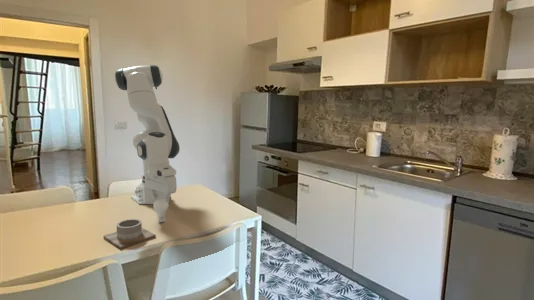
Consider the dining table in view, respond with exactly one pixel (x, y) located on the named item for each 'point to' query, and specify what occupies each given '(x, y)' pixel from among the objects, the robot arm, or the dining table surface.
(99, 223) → the dining table surface
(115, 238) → the socket base
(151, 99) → the robot arm
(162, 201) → the lightbulb
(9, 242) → the dining table surface
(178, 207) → the dining table surface
